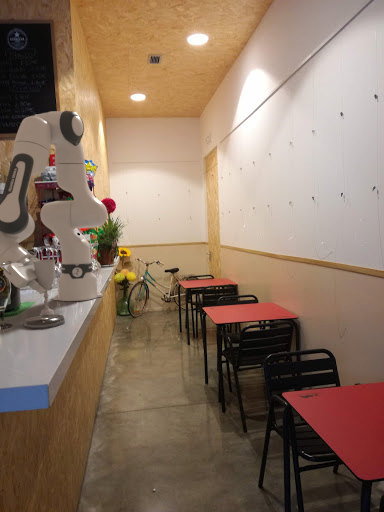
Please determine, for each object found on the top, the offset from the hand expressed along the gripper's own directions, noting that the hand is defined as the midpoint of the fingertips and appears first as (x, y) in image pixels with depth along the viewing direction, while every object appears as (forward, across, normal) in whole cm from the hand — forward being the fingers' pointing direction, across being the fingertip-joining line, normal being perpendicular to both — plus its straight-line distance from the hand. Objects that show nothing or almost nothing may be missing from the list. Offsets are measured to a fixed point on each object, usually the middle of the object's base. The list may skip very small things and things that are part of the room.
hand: (47, 290), depth 120 cm
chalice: (+6, 0, +6) cm, 9 cm away
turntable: (+8, -10, +4) cm, 13 cm away
